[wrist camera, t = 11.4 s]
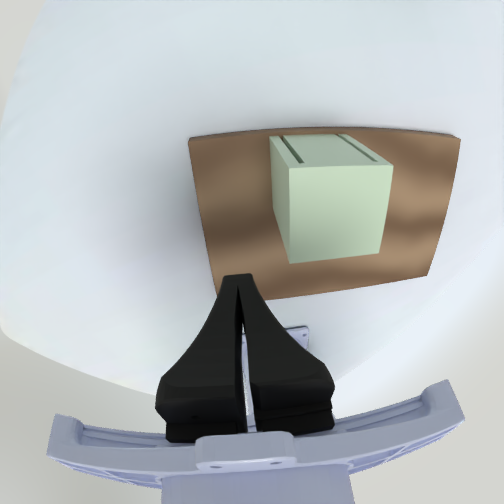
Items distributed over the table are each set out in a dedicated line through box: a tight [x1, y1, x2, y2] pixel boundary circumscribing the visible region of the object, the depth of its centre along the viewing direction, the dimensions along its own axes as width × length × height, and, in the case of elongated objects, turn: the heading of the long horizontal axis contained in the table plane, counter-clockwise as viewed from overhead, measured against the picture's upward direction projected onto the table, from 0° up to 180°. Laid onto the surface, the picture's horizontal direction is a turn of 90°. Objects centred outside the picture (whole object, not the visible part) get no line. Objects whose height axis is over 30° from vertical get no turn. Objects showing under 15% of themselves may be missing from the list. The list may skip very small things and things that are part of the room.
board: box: [188, 127, 461, 301], centre depth 23 cm, size 15×22×1 cm
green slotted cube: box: [269, 134, 393, 264], centre depth 17 cm, size 5×5×7 cm
